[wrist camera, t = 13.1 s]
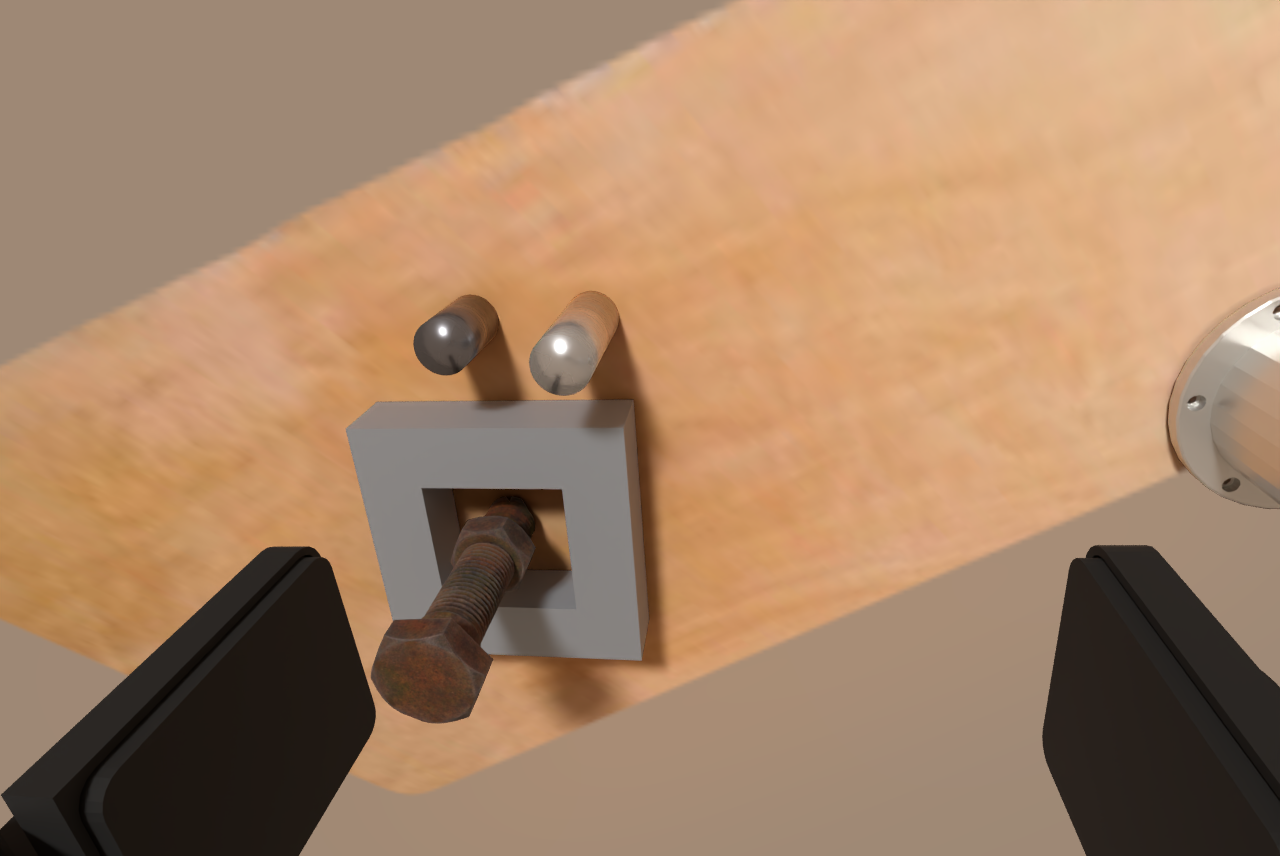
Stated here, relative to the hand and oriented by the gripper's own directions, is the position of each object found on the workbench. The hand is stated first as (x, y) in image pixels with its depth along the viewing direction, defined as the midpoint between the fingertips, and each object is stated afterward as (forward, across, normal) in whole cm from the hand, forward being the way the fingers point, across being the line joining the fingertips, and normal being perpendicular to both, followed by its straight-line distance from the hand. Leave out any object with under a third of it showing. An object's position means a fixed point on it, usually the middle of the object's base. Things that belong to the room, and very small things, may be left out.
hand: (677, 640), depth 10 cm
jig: (+32, +15, +17) cm, 39 cm away
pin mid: (+32, +8, +4) cm, 34 cm away
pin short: (+32, +15, +4) cm, 36 cm away
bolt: (+32, +15, +17) cm, 40 cm away
